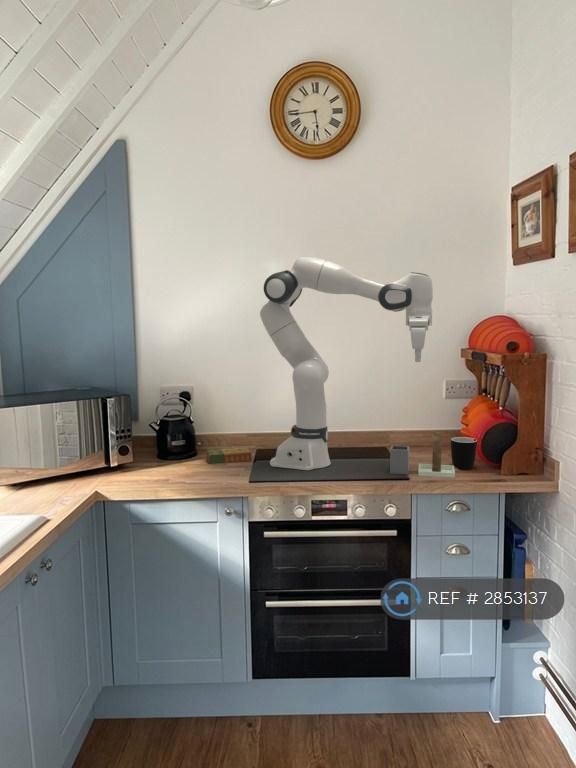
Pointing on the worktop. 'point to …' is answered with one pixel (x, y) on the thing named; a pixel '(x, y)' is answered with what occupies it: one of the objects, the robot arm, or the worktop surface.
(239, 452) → the carton
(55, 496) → the worktop surface
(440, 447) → the dowel
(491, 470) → the worktop surface
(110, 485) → the worktop surface
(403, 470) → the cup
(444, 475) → the tray
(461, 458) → the mug
